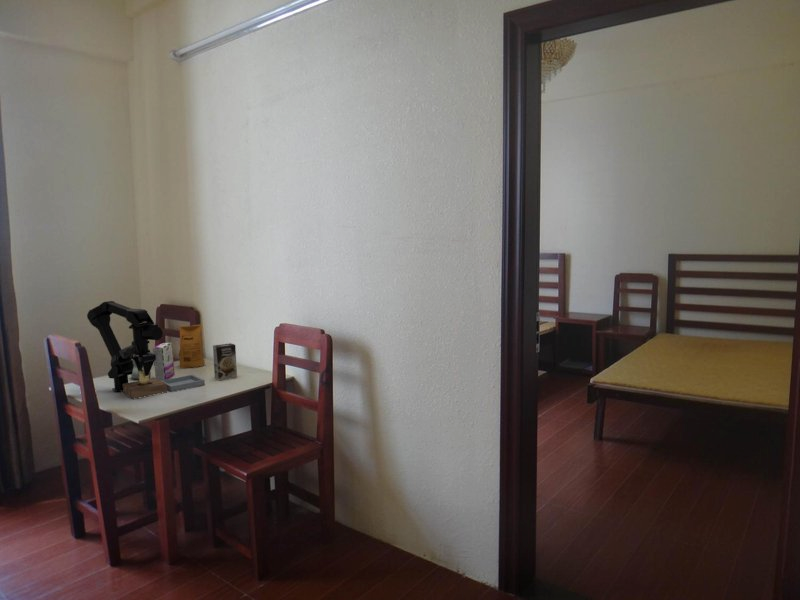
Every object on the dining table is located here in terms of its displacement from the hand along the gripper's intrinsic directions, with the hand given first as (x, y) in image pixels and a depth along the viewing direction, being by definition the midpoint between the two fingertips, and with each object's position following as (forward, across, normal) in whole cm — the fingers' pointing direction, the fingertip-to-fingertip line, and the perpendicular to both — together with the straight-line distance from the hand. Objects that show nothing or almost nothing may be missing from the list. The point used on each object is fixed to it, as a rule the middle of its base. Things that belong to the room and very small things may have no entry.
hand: (143, 373), depth 241 cm
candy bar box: (+9, -19, +15) cm, 26 cm away
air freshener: (+9, -29, +7) cm, 31 cm away
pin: (+8, 0, 0) cm, 8 cm away
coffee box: (+8, +3, +36) cm, 37 cm away
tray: (+8, +1, +16) cm, 18 cm away
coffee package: (+9, -34, +34) cm, 49 cm away
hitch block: (+8, 0, 0) cm, 8 cm away
